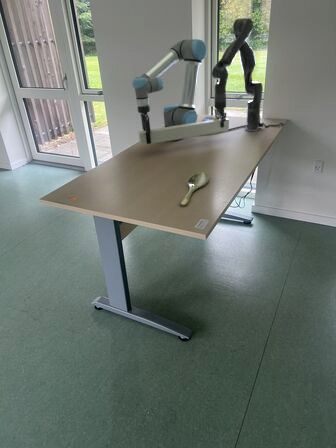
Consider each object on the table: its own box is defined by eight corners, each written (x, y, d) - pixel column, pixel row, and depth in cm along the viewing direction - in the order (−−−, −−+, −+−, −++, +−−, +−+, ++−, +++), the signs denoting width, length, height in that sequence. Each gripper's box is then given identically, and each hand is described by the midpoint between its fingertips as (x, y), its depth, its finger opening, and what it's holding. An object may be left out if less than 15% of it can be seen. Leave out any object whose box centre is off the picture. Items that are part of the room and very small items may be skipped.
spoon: (193, 209, 156) (193, 205, 155) (172, 207, 159) (171, 203, 158) (212, 175, 182) (212, 172, 181) (193, 174, 186) (193, 170, 184)
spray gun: (223, 120, 277) (206, 120, 284) (223, 115, 275) (206, 115, 281) (214, 128, 262) (197, 127, 268) (214, 122, 260) (196, 122, 266)
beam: (141, 145, 215) (139, 133, 211) (139, 143, 219) (138, 131, 215) (228, 130, 227) (228, 119, 223) (225, 128, 232) (225, 117, 228)
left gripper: (152, 107, 198) (157, 145, 211) (145, 101, 213) (150, 137, 226) (140, 109, 197) (145, 147, 209) (134, 103, 212) (139, 139, 224)
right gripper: (230, 101, 213) (230, 128, 222) (221, 97, 225) (221, 122, 234) (219, 103, 211) (219, 130, 220) (210, 99, 223) (211, 124, 232)
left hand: (148, 142), depth 218 cm, fingers closed on beam, 5 cm apart
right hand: (220, 126), depth 227 cm, fingers closed on beam, 5 cm apart
